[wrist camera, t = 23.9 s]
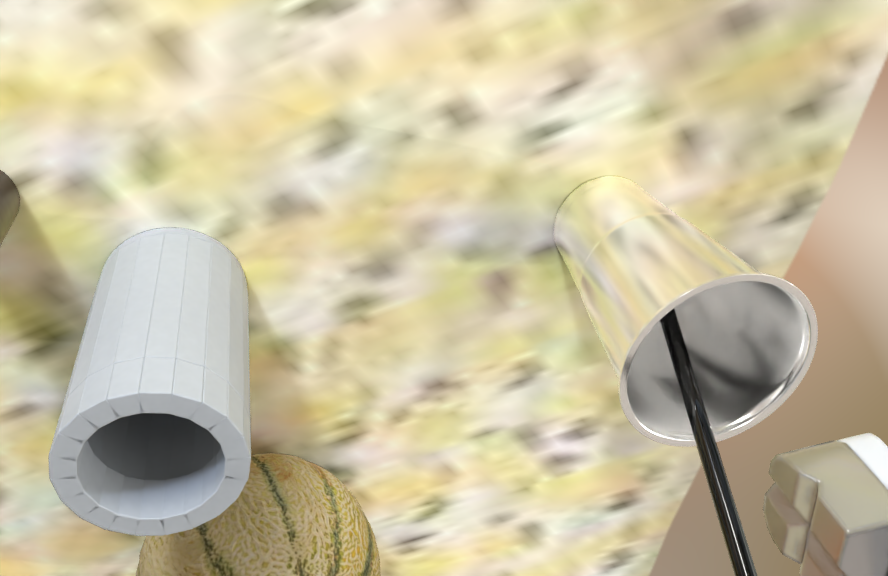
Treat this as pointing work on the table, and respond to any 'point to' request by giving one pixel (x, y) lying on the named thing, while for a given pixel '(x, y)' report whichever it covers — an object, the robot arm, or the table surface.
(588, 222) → the glass
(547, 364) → the table surface
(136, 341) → the grey hollow cylinder
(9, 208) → the brown pestle
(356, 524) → the cantaloupe
